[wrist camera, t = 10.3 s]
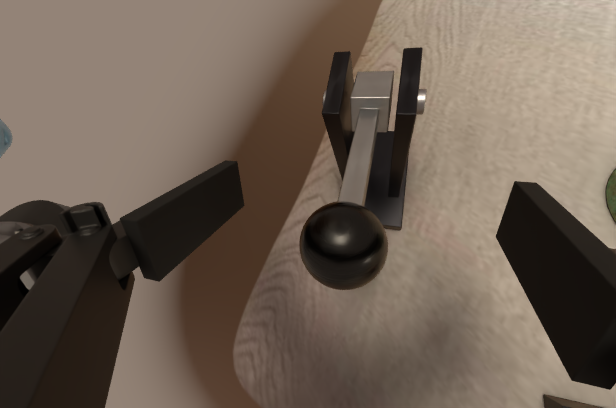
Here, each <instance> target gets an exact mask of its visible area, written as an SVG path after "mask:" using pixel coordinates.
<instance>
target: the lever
mask: <svg viewBox="0 0 616 408" xmlns="http://www.w3.org/2000/svg"><path fill="white" fill-rule="evenodd" d="M393 79H394V71H370V72H358V73H357V76H356V79H355V83H354V86H353V90H352V93H351V97H350V105H351V125H352V131H355V132H354V136H353V140H352V144H351V148H350V152H349V156H348V161H347V165H346V169H345V173H344V177H343V181H342V185H341V189H340V194H339V198H338V202H333V203H329V204H327V205H324V206H322V207H321V208H319V209H318V210H316V211H315V212H314V213H313V214H312V215H311V216H310V217H309V218H308V220H307V221H306V223H305V225H304V226H303V229H302V232H301V236H300V254H301V258H302V261H303V263H304V265H305V267H306V269H307V270H308V272H309V273H310V274H311V275H312V276H313V277H314V278H315V279H316V280H317V281H319V282H320V283H321V284H323V285H325V286H327V287H330V288H333V289H338V290H351V289H356V288H359V287H362V286H364V285H366V284H368V283H369V282H371V281H372V280H373V279H374V278H375V277H376V276H377V275H378V274H379V272H380V271H381V270H382V268H383V266H384V264H385V261H386V258H387V253H388V240H387V236H386V232H385V229H384V227H383V225H382V224H381V222H380V220H379V219H378V218H377V217H376V215H374V214H373V213H372V212H371V211H370V210H368V209H367V208H365V207H364V205H365V199H366V193H367V187H368V181H369V176H370V170H371V164H372V158H373V152H374V147H375V141H376V135H377V132H388V125H389V118H390V111H391V103H392V91H393Z"/></svg>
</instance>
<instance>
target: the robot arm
mask: <svg viewBox="0 0 616 408" xmlns="http://www.w3.org/2000/svg"><path fill="white" fill-rule="evenodd" d="M11 143H12V134H11V132H10V130H9V128H8V127H7V126H6V124H5V123H4V122H3V121H2V120H1V119H0V157H1V156H2V155H3V154H4V153H5V151H6V150H7V149H8V148H9V147H10V145H11ZM243 206H244V200H243V194H242V188H241V182H240V176H239V170H238V163H237V161H224V162H222V163H220V164H218V165H216V166H214V167H213V168H211V169H209V170H207V171H205V172H204V173H202V174H200V175H198V176H196V177H194V178H193V179H191V180H189V181H187V182H185V183H183V184H182V185H180V186H178V187H176V188H174V189H172V190H171V191H169V192H167V193H165V194H163V195H161V196H160V197H158V198H156V199H154V200H152V201H151V202H149V203H147V204H145V205H143V206H141V207H140V208H138V209H136V210H134V211H132V212H130V213H129V214H127V215H125V216H123V217H121V218H120V221H118V222H116V223H115V224H113V225H112V224H111V221H110V219H109V217H108V214H107V212H106V210H105V207H104V205H103V204H102V203H100V202H91V203H84V204H80V205H76V206H73V207H70V208H68V209H66V210H64V211H62V212H61V213H60V214H58V215H59V217H60V219H61V221H62V223H63V225H64V227H65V229H66V231H67V232H68V234H69V235H66V236H61V235H60V233H59V232H58V230H57V228H56V226H55V225H52V224H45V225H33V224H28V223H23V222H11V221H10V222H0V408H105V404H106V400H107V396H108V392H109V387H110V383H111V379H112V375H113V370H114V366H115V362H116V357H117V353H118V349H119V345H120V340H121V336H122V332H123V328H124V323H125V319H126V315H127V311H128V306H129V302H130V297H131V294H132V289H133V285H134V281H135V278H134V274H133V272H132V271H133V270H135V269H136V268H137V267H140V269H141V272H142V274H143V276H144V278H146V279H151V280H155V281H161V280H162V279H163V278H164V277H165V276H166V275H167V274H168V273H169V272H170V271H172V270H173V269H174V268H175V267H176V266H177V265H178V264H180V263H181V262H182V261H183V260H184V259H185V258H186V257H187V256H188V255H190V254H191V253H192V252H193V251H194V250H195V249H196V248H197V247H198V246H200V245H201V244H202V243H203V242H204V241H205V240H206V239H207V238H209V237H210V236H211V235H212V234H213V233H214V232H215V231H216V230H217V229H219V228H220V227H221V226H222V225H223V224H224V223H225V222H226V221H228V220H229V219H230V218H231V217H232V216H233V215H234V214H235V213H237V211H239V210H240V209H241V208H242V207H243ZM496 238H497V240H498V242H499V244H500V246H501V248H502V250H503V251H504V253H505V255H506V257H507V259H508V261H509V263H510V265H511V267H512V269H513V270H514V272H515V274H516V276H517V278H518V280H519V282H520V284H521V286H522V287H523V289H524V291H525V293H526V295H527V297H528V299H529V301H530V303H531V304H532V306H533V308H534V310H535V312H536V314H537V316H538V318H539V320H540V322H541V323H542V325H543V327H544V329H545V331H546V333H547V335H548V337H549V339H550V340H551V342H552V344H553V346H554V348H555V350H556V352H557V354H558V356H559V357H560V359H561V361H562V363H563V365H564V367H565V369H566V371H567V373H568V375H569V376H570V378H571V380H572V381H576V382H580V383H584V384H588V385H593V386H597V387H601V388H605V389H609V390H610V389H611V388H612V387H613V386H614V385H615V383H616V249H610V248H608V247H607V246H606V245H605V244H604V243H603V242H601V241H600V240H599V239H598V238H597V237H596V236H595V235H594V234H593V233H592V232H590V231H589V230H588V229H587V228H586V227H585V226H584V225H583V224H582V223H580V222H579V221H578V220H577V219H576V218H575V217H574V216H573V215H572V214H571V213H569V212H568V211H567V210H566V209H565V208H564V207H563V206H562V205H561V204H559V203H558V202H557V201H556V200H555V199H554V198H553V197H552V196H551V195H549V194H548V193H547V192H546V191H545V190H544V189H543V188H542V187H541V186H540V185H538V184H537V183H531V182H517V181H515V182H514V185H513V188H512V190H511V193H510V196H509V199H508V202H507V205H506V208H505V211H504V214H503V217H502V220H501V223H500V226H499V229H498V231H497V234H496Z"/></svg>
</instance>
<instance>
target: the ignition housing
mask: <svg viewBox="0 0 616 408" xmlns="http://www.w3.org/2000/svg"><path fill="white" fill-rule="evenodd" d="M544 403H545V408H602V407H597V406H593V405H588V404H584V403H579V402H575V401H570V400H566V399H562V398H557V397H553V396H548V395H544Z"/></svg>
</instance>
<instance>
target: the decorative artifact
mask: <svg viewBox="0 0 616 408" xmlns="http://www.w3.org/2000/svg"><path fill="white" fill-rule="evenodd" d="M606 197H607V203H608V207H609V210H610V212H611V214H612V216H613V218H614V220H615V222H616V169H615V170H614V171H613V173H612V175H611V176H610V179H609V181H608V184H607V190H606Z"/></svg>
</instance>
